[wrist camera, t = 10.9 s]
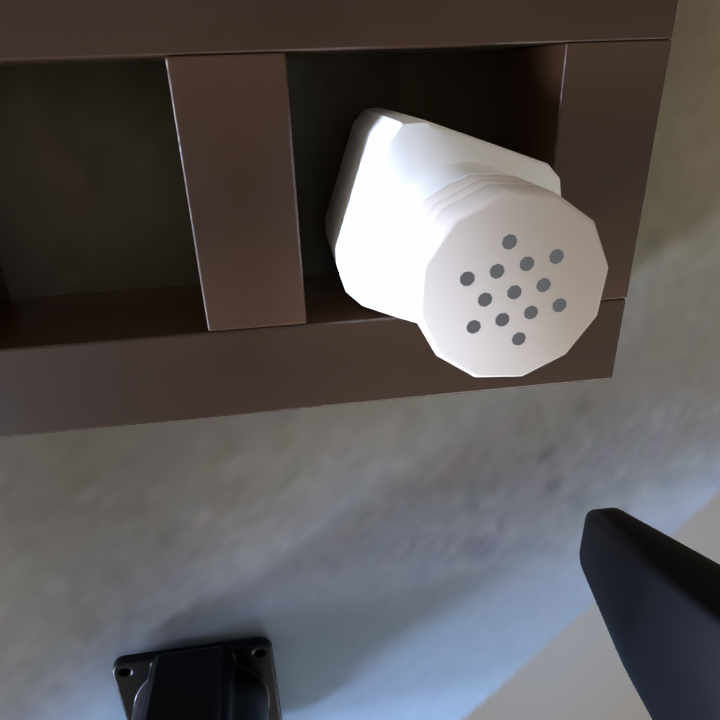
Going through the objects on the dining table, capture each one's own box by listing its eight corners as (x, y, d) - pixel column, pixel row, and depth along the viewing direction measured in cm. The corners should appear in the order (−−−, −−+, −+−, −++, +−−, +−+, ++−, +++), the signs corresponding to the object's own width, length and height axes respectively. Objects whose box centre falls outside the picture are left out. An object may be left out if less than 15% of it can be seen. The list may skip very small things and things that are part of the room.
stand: (553, 327, 21) (612, 379, 17) (-49, 379, 19) (-126, 450, 15) (600, -59, 16) (696, -98, 12) (-212, -48, 14) (-383, -91, 10)
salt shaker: (317, 234, 18) (358, 373, 10) (357, 99, 17) (445, 123, 8) (435, 268, 19) (566, 421, 11) (482, 144, 18) (679, 206, 9)
